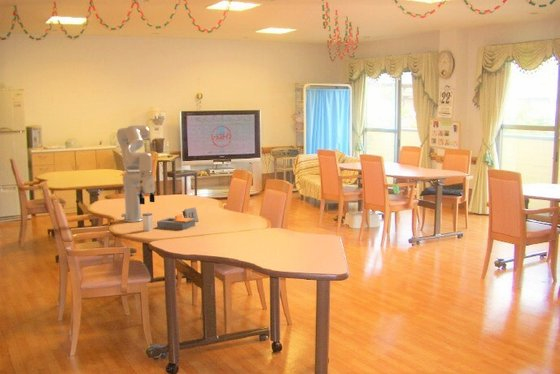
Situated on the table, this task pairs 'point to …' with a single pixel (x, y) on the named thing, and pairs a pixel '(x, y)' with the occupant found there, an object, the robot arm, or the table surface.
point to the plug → (147, 222)
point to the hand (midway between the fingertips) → (147, 203)
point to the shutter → (181, 219)
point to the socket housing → (175, 224)
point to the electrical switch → (191, 214)
